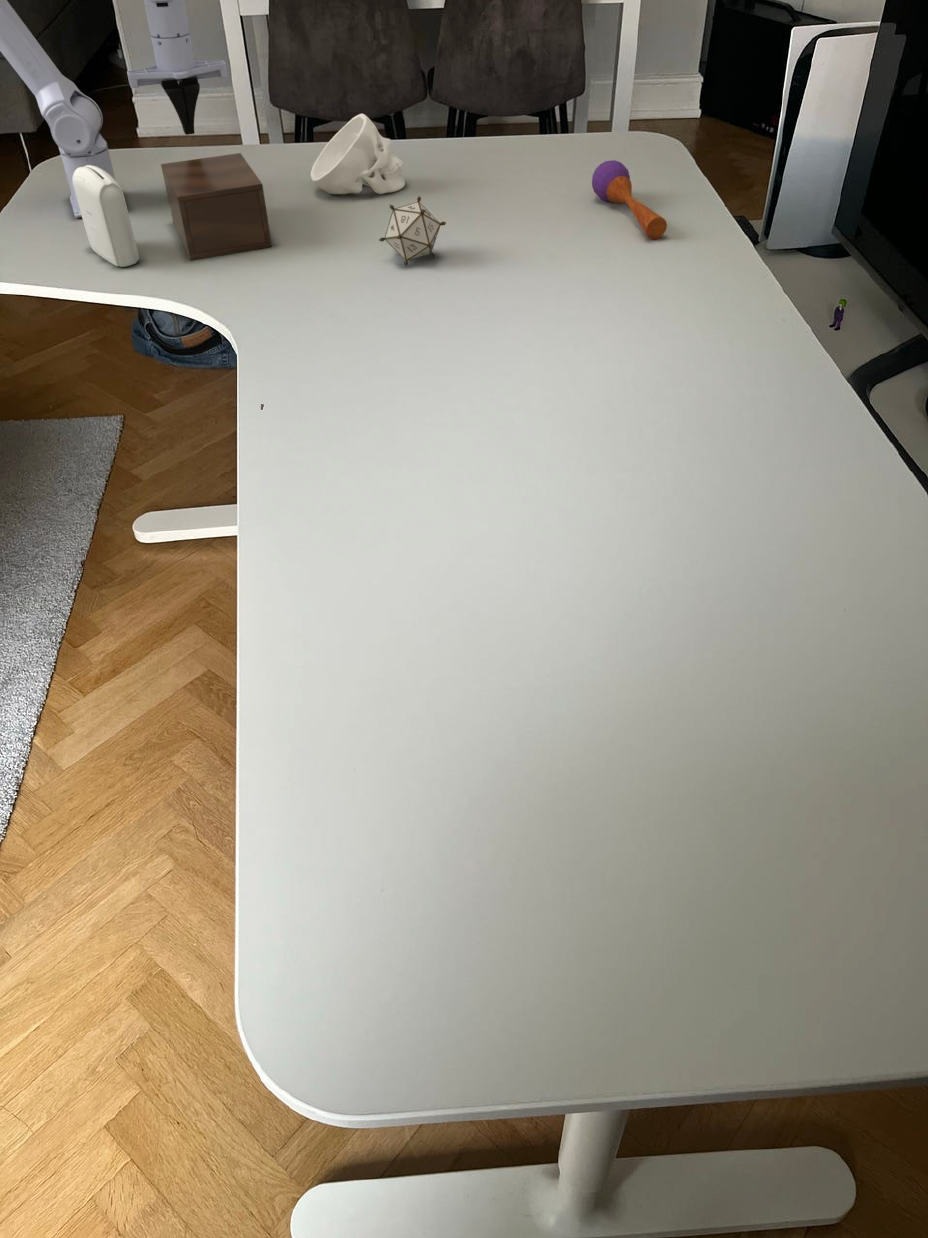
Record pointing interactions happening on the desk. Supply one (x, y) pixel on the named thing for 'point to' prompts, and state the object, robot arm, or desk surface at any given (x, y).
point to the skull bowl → (358, 161)
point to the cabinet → (217, 205)
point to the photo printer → (105, 215)
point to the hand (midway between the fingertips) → (189, 132)
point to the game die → (412, 231)
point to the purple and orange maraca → (625, 196)
